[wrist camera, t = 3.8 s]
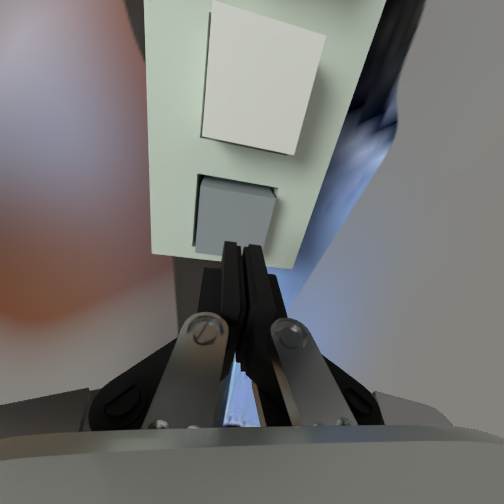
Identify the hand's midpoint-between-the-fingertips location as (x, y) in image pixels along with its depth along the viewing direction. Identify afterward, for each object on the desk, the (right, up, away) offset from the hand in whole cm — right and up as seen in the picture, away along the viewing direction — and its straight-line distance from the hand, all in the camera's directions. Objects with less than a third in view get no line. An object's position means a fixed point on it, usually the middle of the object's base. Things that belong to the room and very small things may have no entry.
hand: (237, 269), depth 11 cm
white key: (+1, +11, +4) cm, 11 cm away
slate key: (-1, +5, +9) cm, 10 cm away
